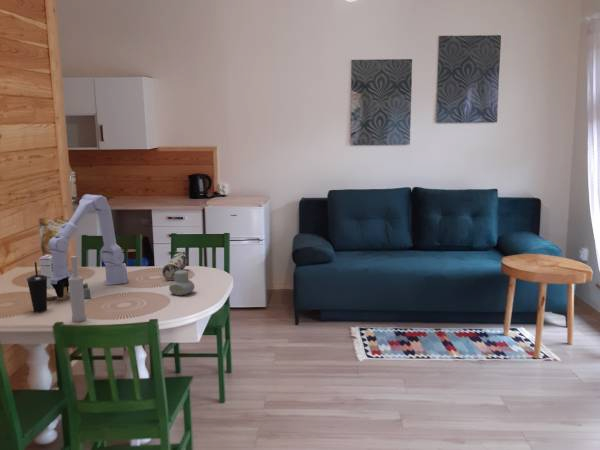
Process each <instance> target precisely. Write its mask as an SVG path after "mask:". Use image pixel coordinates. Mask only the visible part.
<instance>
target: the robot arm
mask: <svg viewBox="0 0 600 450" xmlns="http://www.w3.org/2000/svg"><path fill="white" fill-rule="evenodd" d="M92 212H96V213H97V214H98V216H99V223H100V229H101V234H102V242H103V246H102V247H101V249H100V250H101V254H100V258H101V261H102V262H103V265H104V267H105V279H106V280H104V283H105V285H106V286H113V285H114V286H115V285H121V284H127V283H129V282H128V270H127V265H126V263H125V262H124V261H125V254H124V252H123V250H122V246H121V247H120V245H118V244H117V239H116V233H115V227H114V220H113V214H112V209H111V206H110V204H109V203H108V198H107V197H105V196H103V195H102V194H89V193H86V194H84V195H82V197H81V199H80V200H79V202H78V206H77V208H76V209H75V211H74V213H73V214H72V216H71V217H70V219H69V220H68V221H69V222H67V223H64V224H62V226H61V229H60V230H59V231H58V233H57V234H56V235H55V237H53V238H51V239H50V241H49V244H48V248H49V249H50V250H51V253H52V264H53V274H54V275H53V278H52V279H51V285H52V286H53V288H52V289H54V291H55V294H56V296H57V297H63V295H64V286H66V287H67V295H68V289H69V281H68V279H69V278H70V277H71V276H72V272H71V270H68V269H69V268H68V256H67V257H66V249H67V248H68V249H69V246H70V245H69V244H70V240H71V239H72V237H73V236H74V235H75V233H76V231H77V226H78V224H79V223H80V222H81V221H82V220H83V219H84V217H85V216H86V214H87V213H92ZM123 262H124V263H123Z"/></svg>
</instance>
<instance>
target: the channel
mask: <svg viewBox="0 0 600 450" xmlns="http://www.w3.org/2000/svg"><path fill="white" fill-rule="evenodd" d="M88 285H89V284H88V283H87V282H84V283H83V290H84V300H87V299H88V300H91V299H92V297H91V289H90V288H89V286H88Z"/></svg>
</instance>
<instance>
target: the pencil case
mask: <svg viewBox="0 0 600 450" xmlns="http://www.w3.org/2000/svg"><path fill="white" fill-rule="evenodd" d="M187 259H188V258H187V257H186V256H185V255H184V251H179V252H178V253H176V254H174V255H171V258H170V259H169V261H168V262H167V263H166V264H165V265H164V266H163V267H162V269H161V274H162V276H163V277H164V279H165V280H167V281H175V277H174V272H175V271H178V270H185V268H186V266H187V264H188V260H187Z"/></svg>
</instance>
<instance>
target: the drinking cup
mask: <svg viewBox="0 0 600 450" xmlns="http://www.w3.org/2000/svg"><path fill="white" fill-rule="evenodd" d="M37 264H38V263H37V262H34V270H35V274H33V275H31V276H29V277H27V278H26V282H27V285H28V289H29V290H28V291H29V294H30V299H31V300H30V301H31V304H32V309H33V312H34V313H43V312H46V311H47V310H48V300H47V297H48V288H47V278H48V277H47V276H44V275H41V273H40V274H38V265H37Z"/></svg>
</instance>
